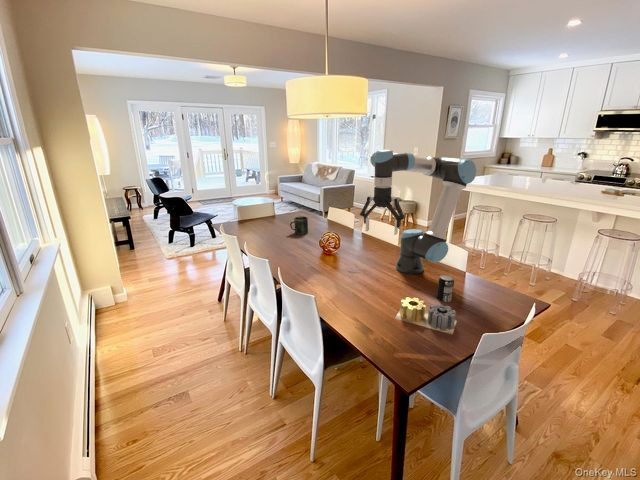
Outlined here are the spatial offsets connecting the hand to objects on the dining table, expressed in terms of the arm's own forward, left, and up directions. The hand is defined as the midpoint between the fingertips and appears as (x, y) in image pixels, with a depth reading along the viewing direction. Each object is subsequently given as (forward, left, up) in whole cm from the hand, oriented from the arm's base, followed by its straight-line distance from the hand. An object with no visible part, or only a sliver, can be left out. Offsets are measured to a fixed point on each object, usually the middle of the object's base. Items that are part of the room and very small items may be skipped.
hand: (381, 232), depth 147 cm
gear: (+14, +32, -30) cm, 46 cm away
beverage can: (-8, +30, -32) cm, 44 cm away
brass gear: (+14, +20, -30) cm, 39 cm away
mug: (-62, -88, -32) cm, 112 cm away
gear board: (+14, +26, -32) cm, 43 cm away
